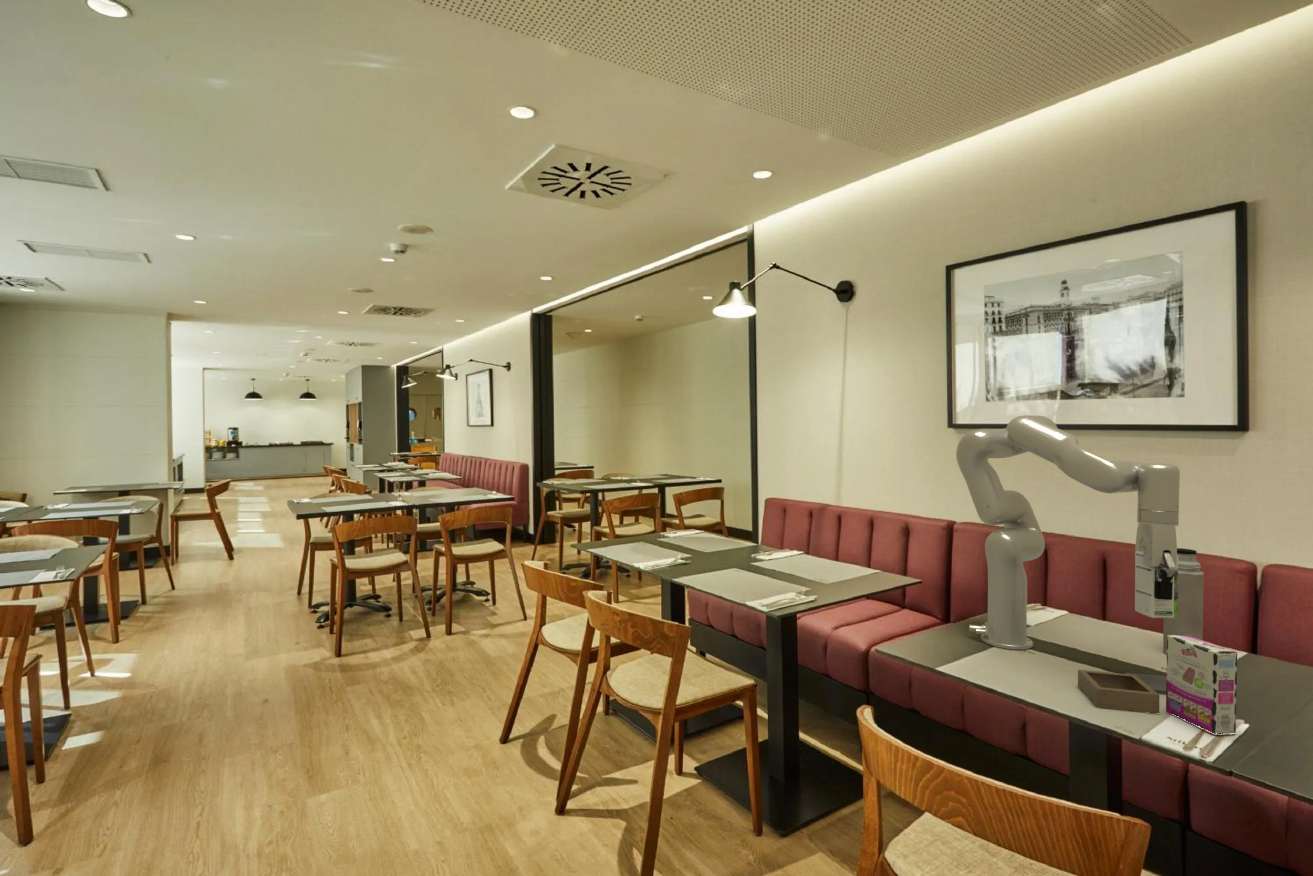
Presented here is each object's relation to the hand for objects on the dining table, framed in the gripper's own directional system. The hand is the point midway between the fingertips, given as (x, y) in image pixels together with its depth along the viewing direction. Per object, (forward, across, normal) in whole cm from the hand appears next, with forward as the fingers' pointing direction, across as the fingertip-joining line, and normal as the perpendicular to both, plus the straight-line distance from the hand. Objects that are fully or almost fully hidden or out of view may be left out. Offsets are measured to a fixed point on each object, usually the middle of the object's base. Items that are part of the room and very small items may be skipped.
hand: (1155, 594), depth 149 cm
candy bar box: (+22, +19, +1) cm, 29 cm away
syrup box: (+5, 0, 0) cm, 5 cm away
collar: (+22, +11, -11) cm, 26 cm away
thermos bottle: (+22, -27, +16) cm, 38 cm away
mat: (+22, -1, +1) cm, 22 cm away
